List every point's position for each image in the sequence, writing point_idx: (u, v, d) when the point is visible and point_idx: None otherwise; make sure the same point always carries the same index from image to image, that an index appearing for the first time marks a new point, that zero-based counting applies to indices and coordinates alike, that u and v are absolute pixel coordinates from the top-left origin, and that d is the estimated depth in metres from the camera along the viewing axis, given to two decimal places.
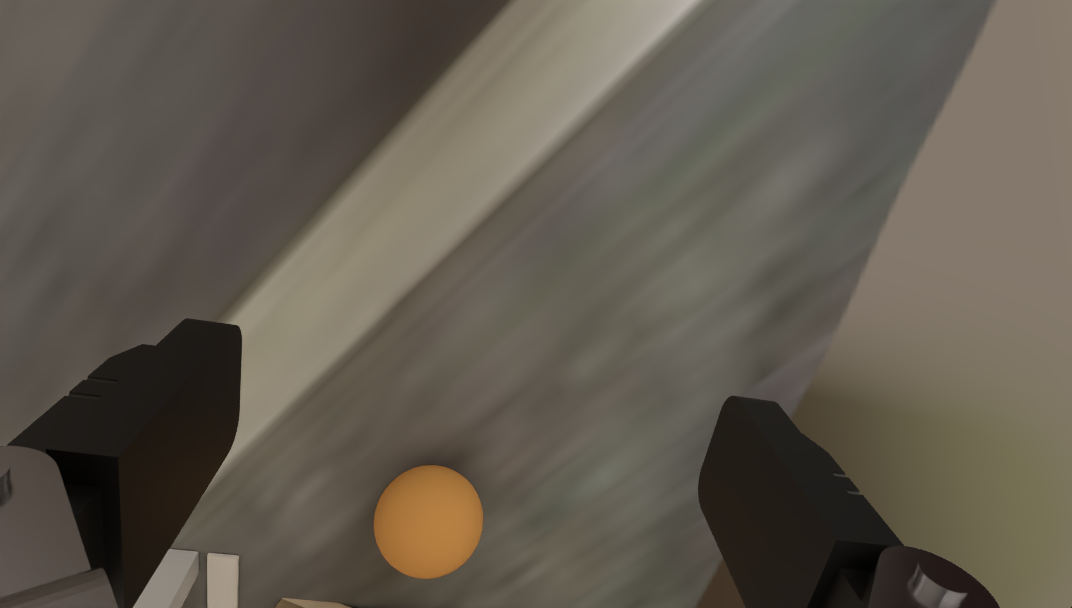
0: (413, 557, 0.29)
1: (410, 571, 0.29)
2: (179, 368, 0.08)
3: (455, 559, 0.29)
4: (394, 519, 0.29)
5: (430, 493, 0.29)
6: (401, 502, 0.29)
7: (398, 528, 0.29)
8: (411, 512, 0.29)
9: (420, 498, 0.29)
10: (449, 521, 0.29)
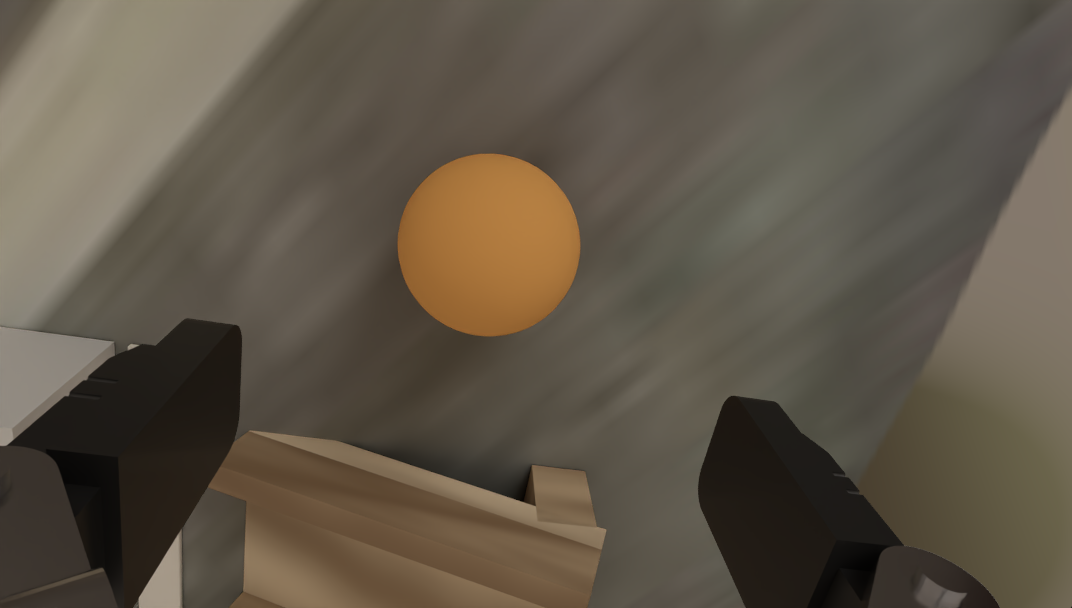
0: (471, 268, 0.16)
1: (464, 303, 0.17)
2: (179, 368, 0.08)
3: (542, 283, 0.17)
4: (436, 207, 0.16)
5: (498, 168, 0.17)
6: (448, 181, 0.17)
7: (444, 218, 0.16)
8: (466, 191, 0.16)
9: (481, 173, 0.17)
10: (533, 209, 0.16)
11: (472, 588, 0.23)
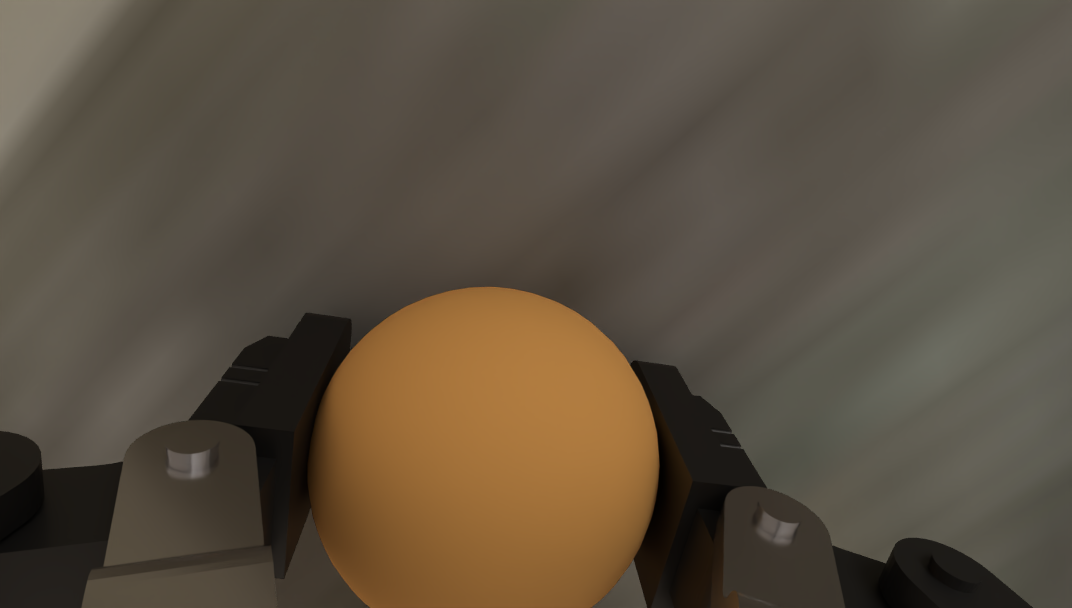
0: (446, 570, 0.07)
1: None
2: (316, 356, 0.09)
3: (595, 577, 0.08)
4: (373, 427, 0.08)
5: (504, 337, 0.08)
6: (399, 368, 0.08)
7: (388, 458, 0.08)
8: (437, 398, 0.08)
9: (469, 351, 0.08)
10: (579, 431, 0.08)
11: None
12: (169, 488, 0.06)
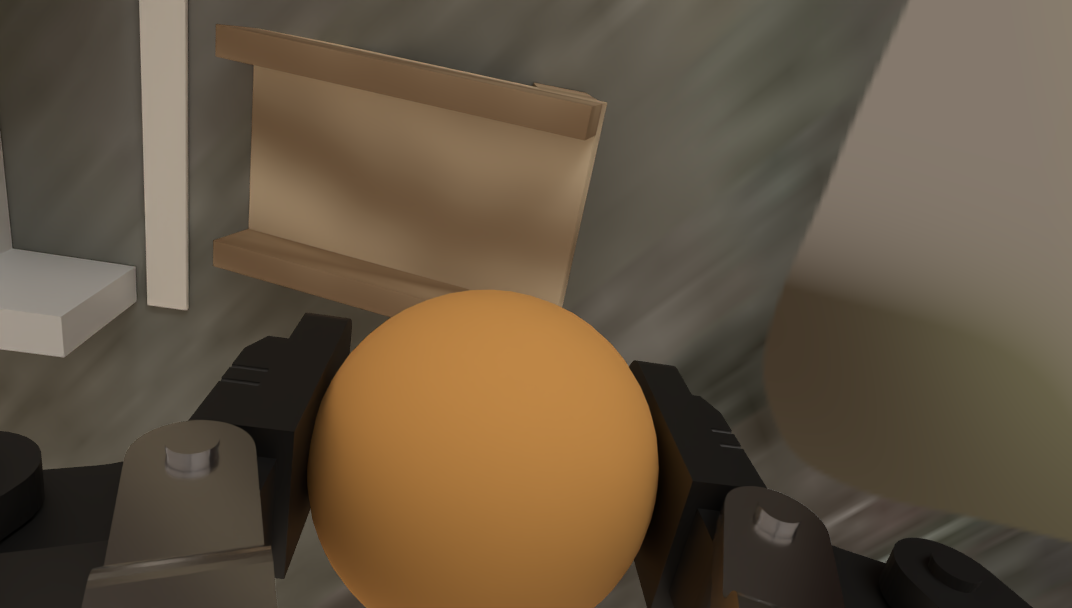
0: (446, 573, 0.07)
1: None
2: (316, 356, 0.09)
3: (595, 580, 0.08)
4: (373, 431, 0.08)
5: (503, 340, 0.08)
6: (399, 372, 0.08)
7: (388, 462, 0.08)
8: (437, 401, 0.08)
9: (469, 355, 0.08)
10: (578, 435, 0.08)
11: (475, 177, 0.23)
12: (169, 488, 0.06)
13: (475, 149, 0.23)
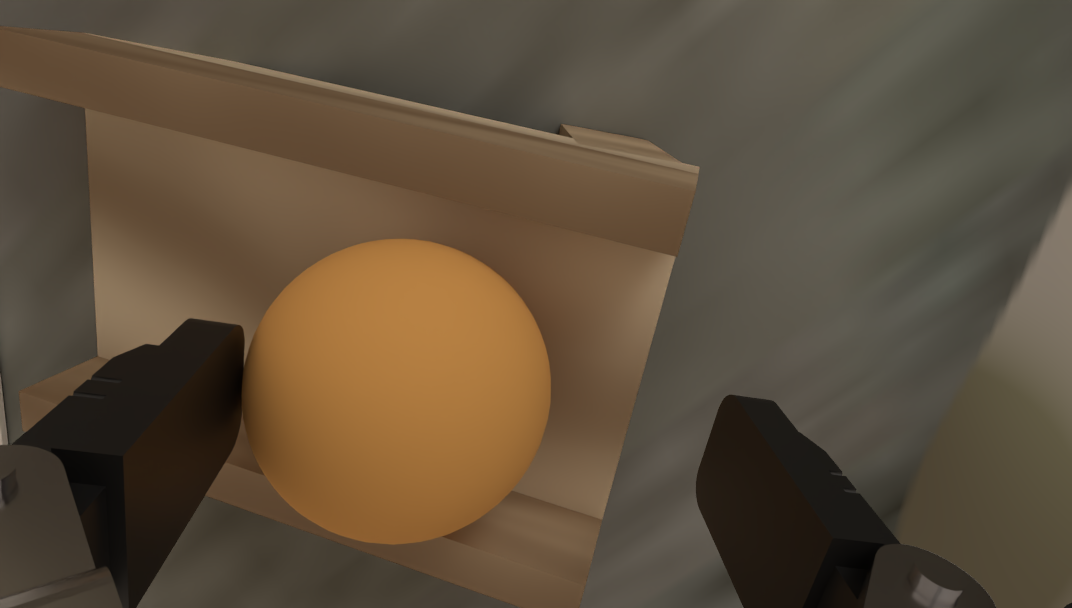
0: (266, 426, 0.09)
1: (270, 478, 0.10)
2: (182, 367, 0.08)
3: (383, 483, 0.09)
4: (269, 312, 0.10)
5: (375, 264, 0.10)
6: (304, 275, 0.10)
7: (262, 333, 0.10)
8: (303, 295, 0.10)
9: (343, 268, 0.10)
10: (387, 345, 0.09)
11: None
12: None
13: (463, 247, 0.13)
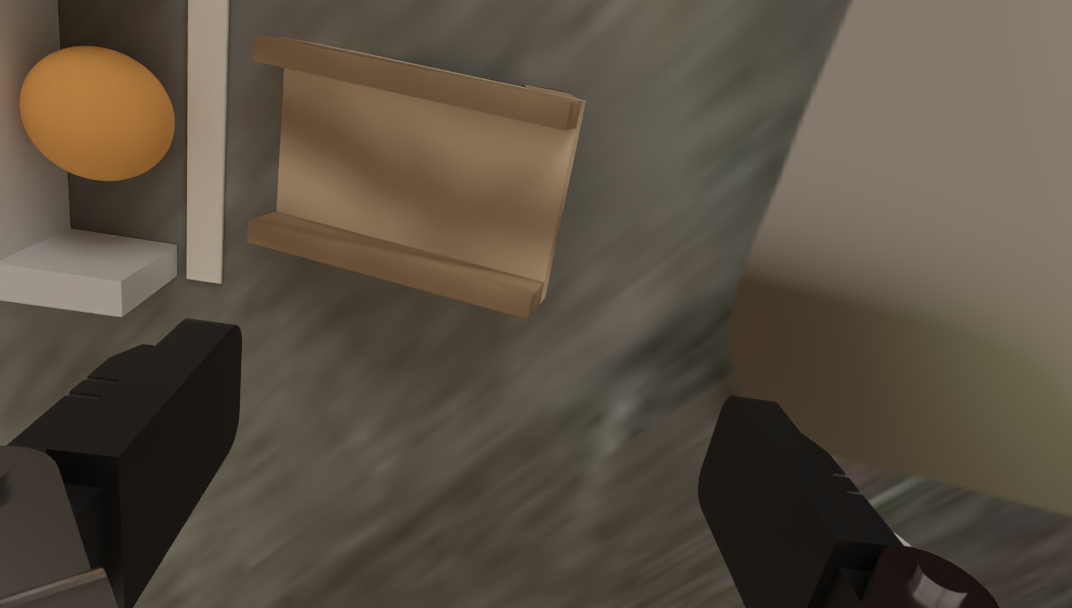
0: (35, 110, 0.23)
1: (40, 138, 0.24)
2: (179, 368, 0.08)
3: (91, 126, 0.24)
4: (29, 73, 0.24)
5: (76, 49, 0.24)
6: (43, 58, 0.24)
7: (27, 79, 0.24)
8: (44, 61, 0.24)
9: (61, 51, 0.24)
10: (84, 73, 0.24)
11: (474, 164, 0.27)
12: None
13: (474, 140, 0.27)
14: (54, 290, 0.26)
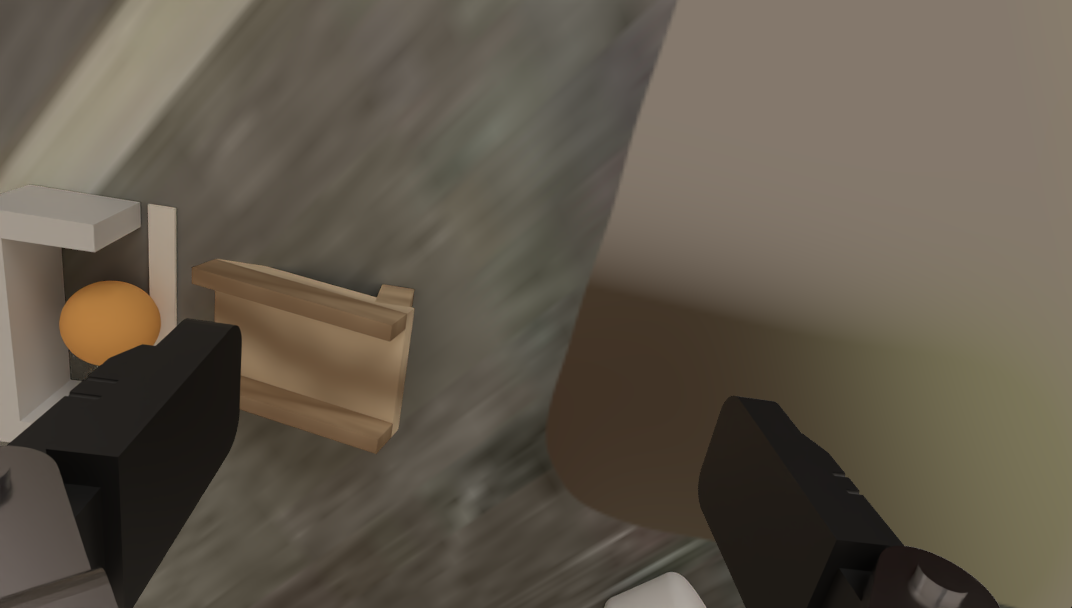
0: (90, 338, 0.37)
1: (91, 353, 0.37)
2: (179, 368, 0.08)
3: (130, 340, 0.38)
4: (71, 312, 0.37)
5: (102, 291, 0.37)
6: (77, 300, 0.37)
7: (74, 317, 0.36)
8: (85, 304, 0.37)
9: (92, 294, 0.37)
10: (119, 308, 0.37)
11: (342, 347, 0.40)
12: None
13: (341, 332, 0.40)
14: None
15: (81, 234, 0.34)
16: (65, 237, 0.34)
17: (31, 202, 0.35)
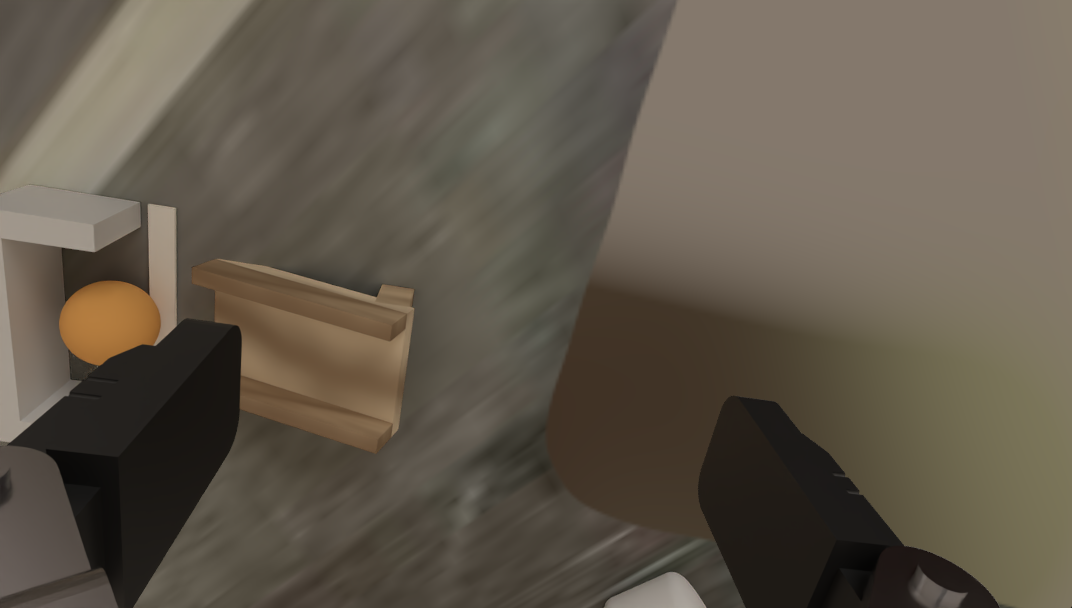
0: (90, 338, 0.37)
1: (91, 353, 0.37)
2: (179, 368, 0.08)
3: (130, 340, 0.38)
4: (71, 312, 0.37)
5: (101, 291, 0.37)
6: (76, 300, 0.37)
7: (74, 317, 0.36)
8: (84, 304, 0.37)
9: (92, 294, 0.37)
10: (119, 308, 0.37)
11: (342, 346, 0.40)
12: None
13: (341, 332, 0.40)
14: None
15: (82, 234, 0.34)
16: (65, 236, 0.34)
17: (31, 202, 0.35)
